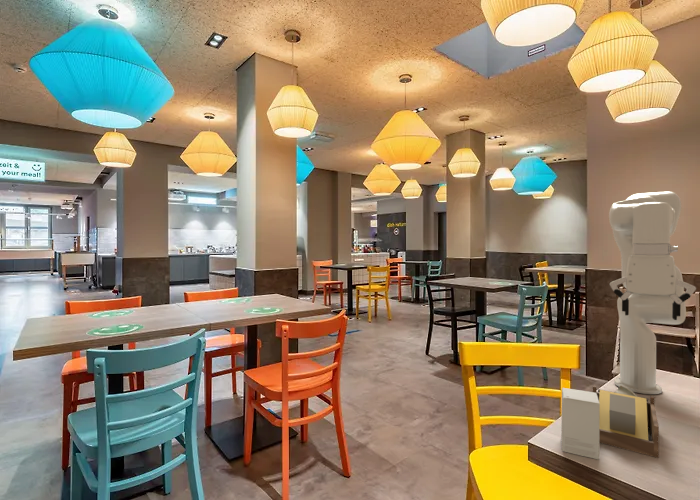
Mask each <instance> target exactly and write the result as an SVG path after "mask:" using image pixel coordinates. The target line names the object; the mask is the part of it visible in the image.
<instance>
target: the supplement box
mask: <svg viewBox="0 0 700 500" xmlns="http://www.w3.org/2000/svg"><path fill="white" fill-rule="evenodd" d="M599 409H600V403H599V400H598V396H597V393H594V392H593V391H586V390H581V389H574V388H567V387H566V388H565V387H562V388H561V424H560V425H561V427H560V428H561V434H560V435H561V436H560V437H561V439H560V440H561V450H562V452H565V453H569V454H573V455H576V456H582V457H585V458H590V459H594V460H599V459H600V443H599Z"/></svg>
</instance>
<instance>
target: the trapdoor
mask: <svg viewBox="0 0 700 500" xmlns="http://www.w3.org/2000/svg"><path fill="white" fill-rule="evenodd" d="M597 392H598V393H600V394H599V403H600V409H599V429H602V430H606V431H611V432H615V433H619V434H623V435H627V436H631V437H636V438H640V439H644V440H648V441H649V428H648V422H647V402H649V398H647V397H641V396H638V395H637V396H638V397H637V396H632V395H626V394H621V393H616V392H615V391H610V390H606V389H597ZM610 394H614V395H620V396H625V397H630V398H635V411H636V420H635V435H633V434H629V433H624V432H620V431H616V430H612V429H610V415H609V408H610Z"/></svg>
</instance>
